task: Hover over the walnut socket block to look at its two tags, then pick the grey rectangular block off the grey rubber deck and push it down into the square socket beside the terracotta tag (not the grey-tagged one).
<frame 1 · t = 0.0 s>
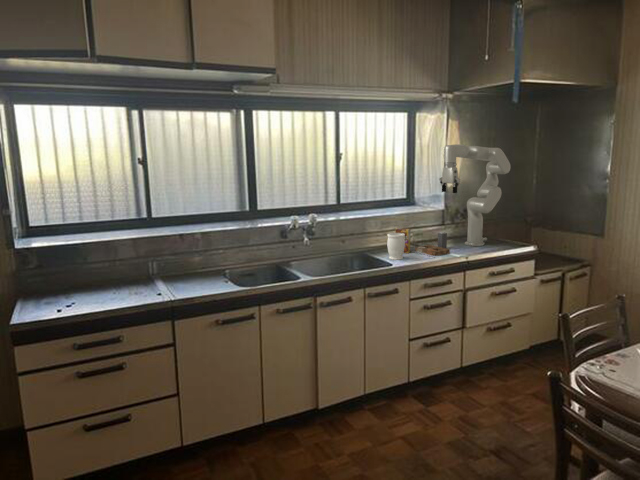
hand: (449, 192, 308), 37 cm above the counter, tool pointing down, fingers open, 9 cm apart
candy box: (402, 252, 310), on the counter
grey rectangular block: (442, 248, 313), point 1 cm above the counter, touching deck
deck: (442, 250, 313), on the counter
socket block: (432, 253, 304), on the counter
jar: (395, 258, 294), on the counter
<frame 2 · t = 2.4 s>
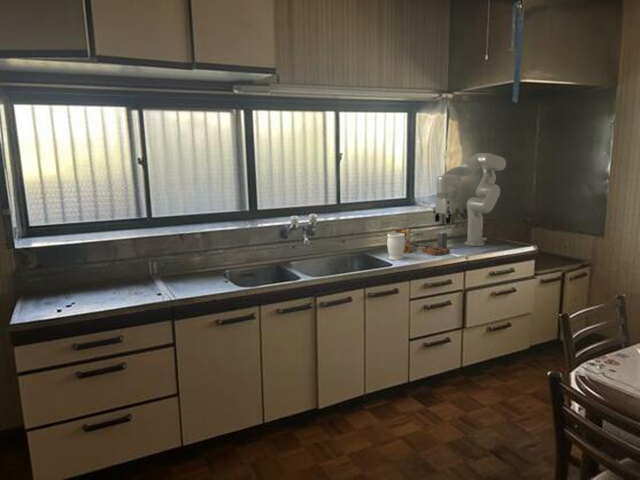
hand: (442, 222, 309), 18 cm above the counter, tool pointing down, fingers open, 9 cm apart
nothing on the counter moved.
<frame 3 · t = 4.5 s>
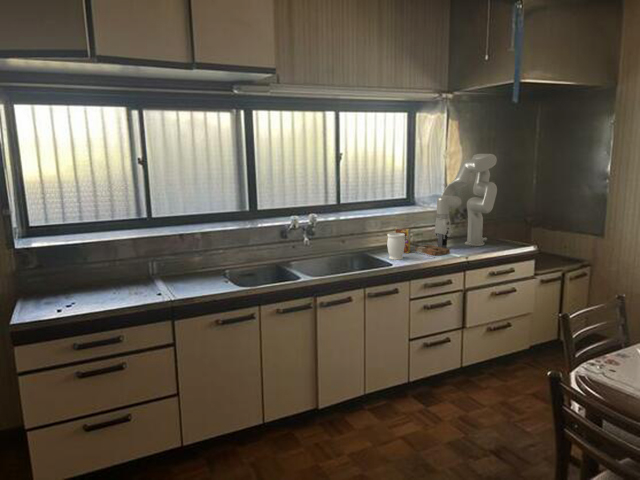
hand: (442, 244, 312), 4 cm above the counter, tool pointing down, fingers closed on grey rectangular block, 4 cm apart
grey rectangular block: (442, 248, 313), point 1 cm above the counter, touching deck, gripper
everything else where it was.
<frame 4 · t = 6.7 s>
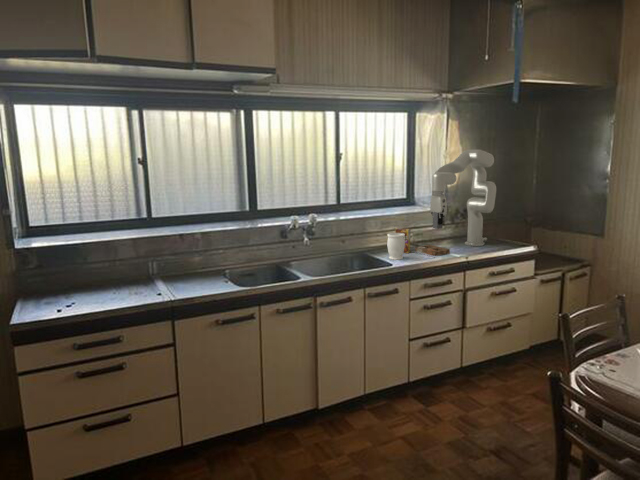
hand: (437, 223, 296), 20 cm above the counter, tool pointing down, fingers closed on grey rectangular block, 4 cm apart
grey rectangular block: (437, 228, 297), point 17 cm above the counter, touching gripper
everything else where it was.
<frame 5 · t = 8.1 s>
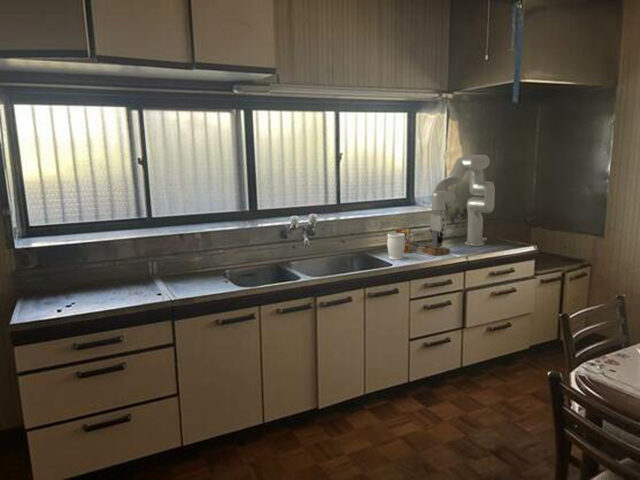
hand: (437, 241, 298), 8 cm above the counter, tool pointing down, fingers closed on grey rectangular block, 4 cm apart
grey rectangular block: (437, 246, 299), point 6 cm above the counter, touching gripper
everything else where it was.
when the fingers open (4 cm above the counter, at t = 9.2 s): grey rectangular block drops 1 cm, resting in socket block.
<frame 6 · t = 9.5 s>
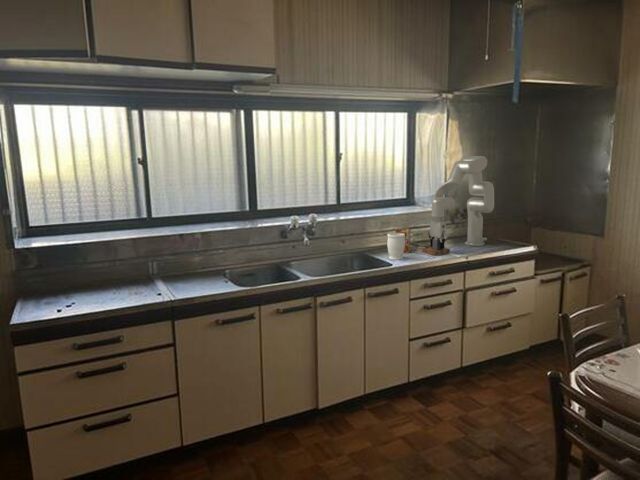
hand: (437, 247, 299), 5 cm above the counter, tool pointing down, fingers open, 7 cm apart
grey rectangular block: (437, 255, 300), resting in socket block
everything else where it was.
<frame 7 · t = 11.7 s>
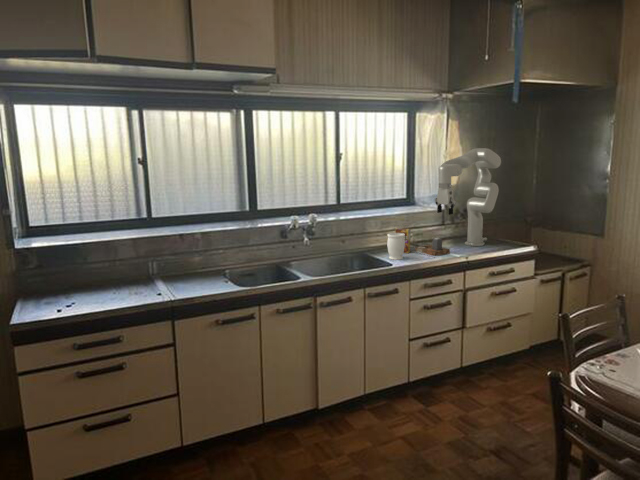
hand: (445, 213, 302), 25 cm above the counter, tool pointing down, fingers open, 9 cm apart
nothing on the counter moved.
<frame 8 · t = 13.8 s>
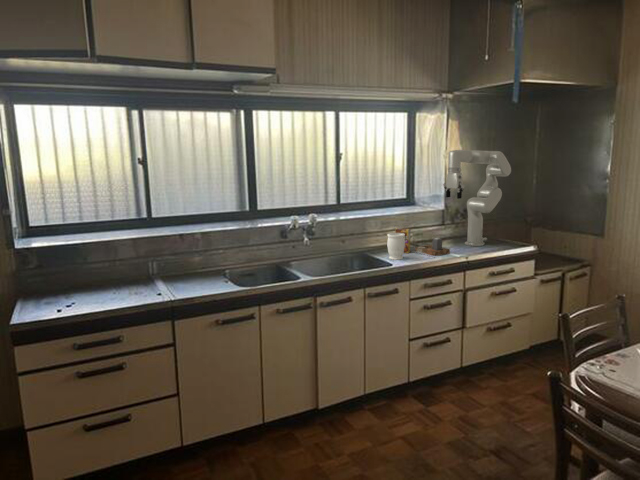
hand: (453, 197, 308), 33 cm above the counter, tool pointing down, fingers open, 9 cm apart
nothing on the counter moved.
at the end: grey rectangular block 0.0 cm from the target spot on the socket block, point 0.0 cm above the socket block's base; grey rectangular block tilted 0°; the gripper is holding nothing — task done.
